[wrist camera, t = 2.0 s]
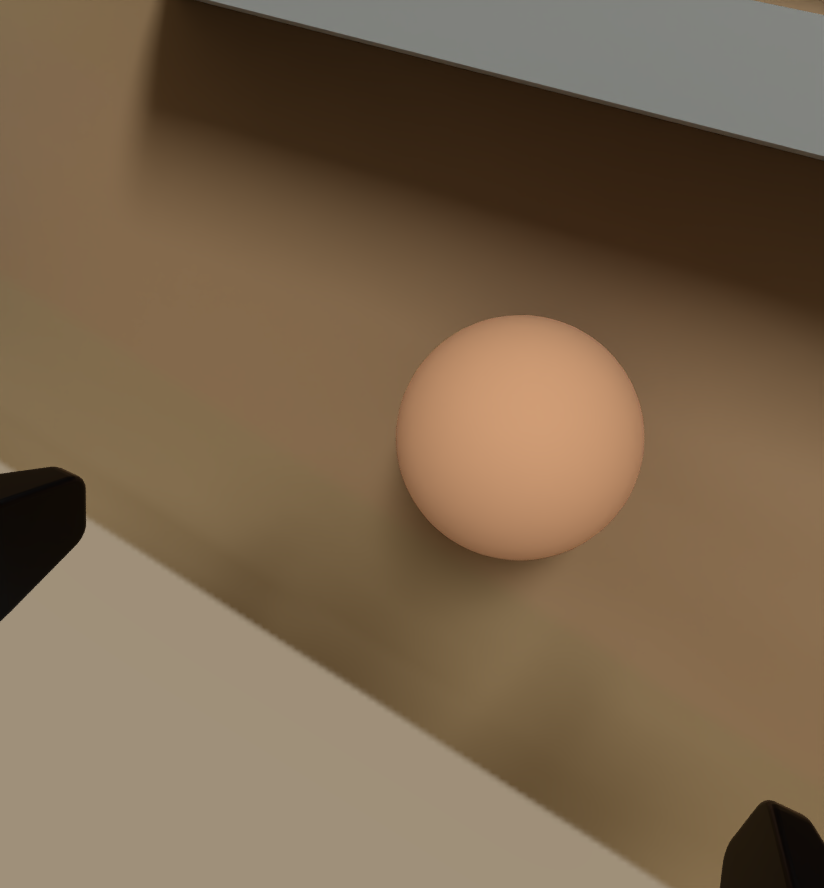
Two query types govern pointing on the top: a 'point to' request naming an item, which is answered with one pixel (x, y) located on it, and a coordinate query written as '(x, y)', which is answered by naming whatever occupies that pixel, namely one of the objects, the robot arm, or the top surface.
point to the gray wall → (611, 54)
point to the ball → (520, 437)
